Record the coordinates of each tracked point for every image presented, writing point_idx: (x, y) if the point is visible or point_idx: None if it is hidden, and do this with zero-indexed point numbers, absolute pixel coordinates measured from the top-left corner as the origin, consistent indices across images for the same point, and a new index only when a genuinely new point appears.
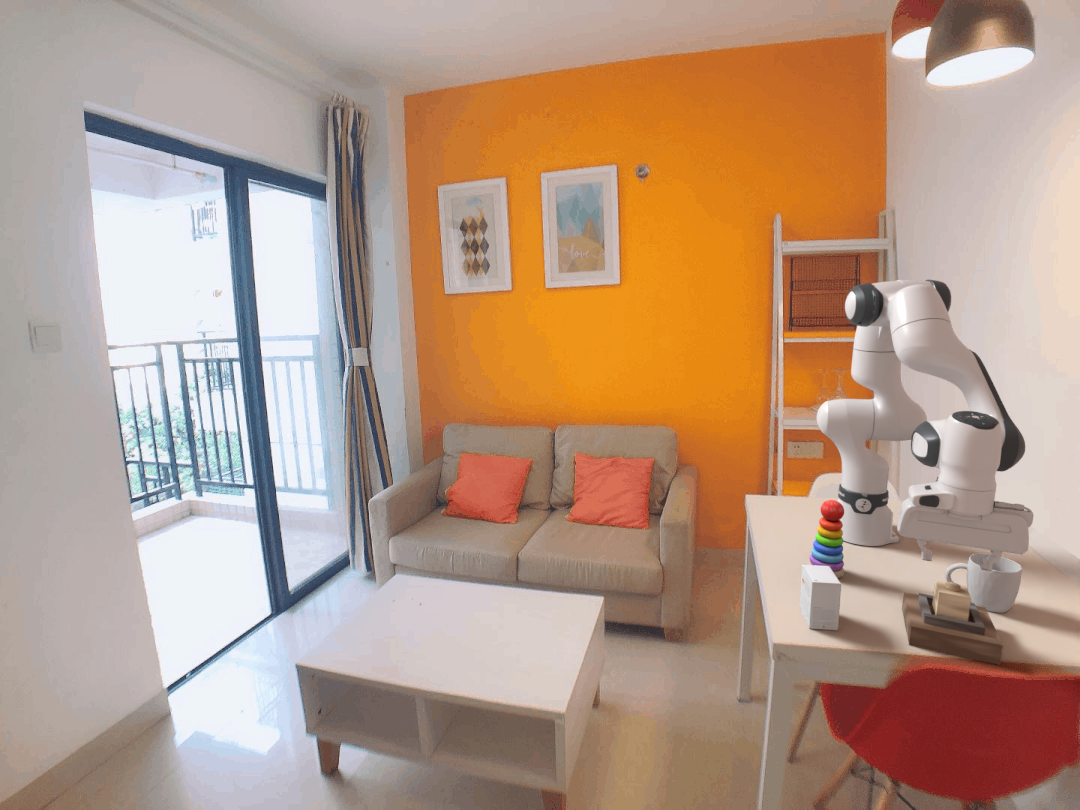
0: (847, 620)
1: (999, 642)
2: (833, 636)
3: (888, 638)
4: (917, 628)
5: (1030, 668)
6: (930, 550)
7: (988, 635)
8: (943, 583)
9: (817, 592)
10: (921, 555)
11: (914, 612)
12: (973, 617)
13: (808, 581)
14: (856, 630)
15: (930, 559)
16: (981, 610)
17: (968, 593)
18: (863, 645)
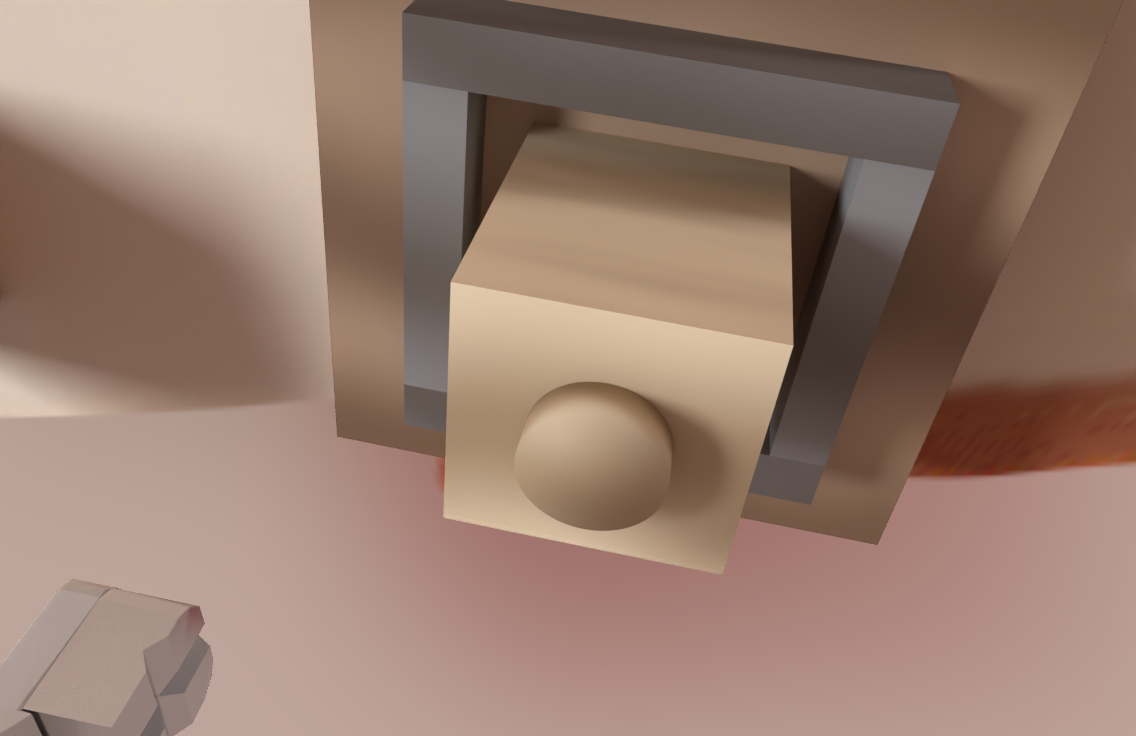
0: (18, 154)
1: (874, 517)
2: (2, 351)
3: (276, 307)
4: (378, 439)
5: (1050, 438)
6: (107, 734)
7: (841, 455)
8: (531, 341)
9: None
10: (61, 589)
11: (372, 256)
12: (793, 379)
13: None
14: (95, 263)
15: (183, 713)
16: (1037, 56)
17: (734, 509)
18: (157, 399)
